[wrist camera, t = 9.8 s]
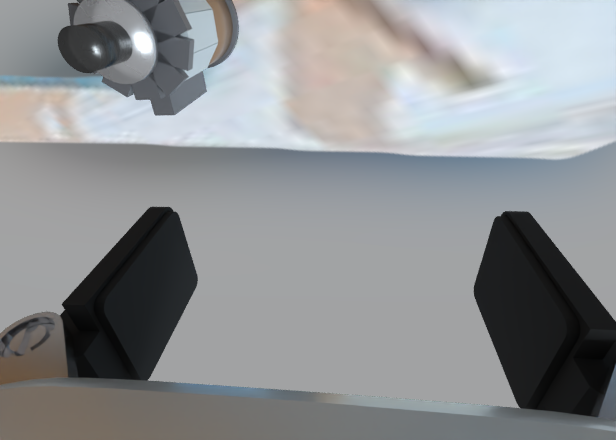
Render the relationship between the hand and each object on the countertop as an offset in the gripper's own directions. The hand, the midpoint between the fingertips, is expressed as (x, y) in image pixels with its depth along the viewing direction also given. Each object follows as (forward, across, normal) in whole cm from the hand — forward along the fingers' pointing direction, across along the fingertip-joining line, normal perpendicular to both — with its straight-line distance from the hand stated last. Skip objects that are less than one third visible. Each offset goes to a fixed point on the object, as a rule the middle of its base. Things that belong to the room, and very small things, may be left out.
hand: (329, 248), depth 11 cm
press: (+36, +17, -4) cm, 40 cm away
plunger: (+28, +17, -4) cm, 33 cm away
